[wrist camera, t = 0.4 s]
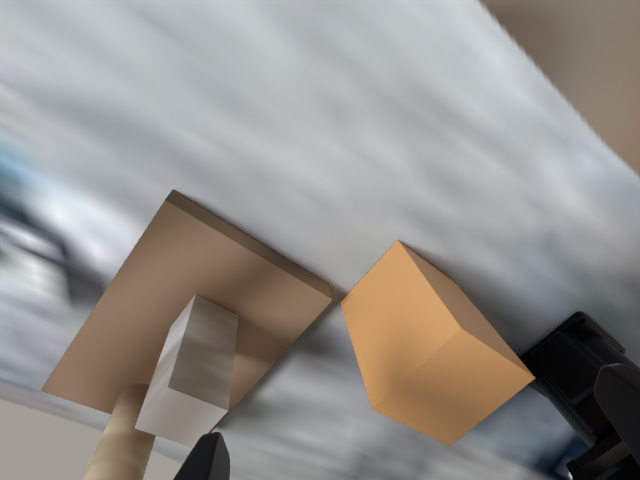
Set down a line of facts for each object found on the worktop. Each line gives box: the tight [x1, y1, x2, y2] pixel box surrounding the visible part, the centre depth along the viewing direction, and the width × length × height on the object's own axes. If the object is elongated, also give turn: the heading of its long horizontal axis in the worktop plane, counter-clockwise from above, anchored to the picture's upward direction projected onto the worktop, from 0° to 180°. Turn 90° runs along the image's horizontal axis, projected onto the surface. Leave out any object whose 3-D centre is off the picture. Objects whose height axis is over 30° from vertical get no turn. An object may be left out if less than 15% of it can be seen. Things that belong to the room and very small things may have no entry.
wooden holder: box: [40, 190, 333, 480], centre depth 18 cm, size 10×14×8 cm
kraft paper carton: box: [340, 240, 535, 446], centre depth 19 cm, size 5×5×8 cm
